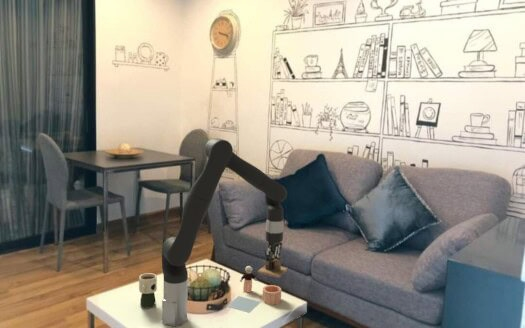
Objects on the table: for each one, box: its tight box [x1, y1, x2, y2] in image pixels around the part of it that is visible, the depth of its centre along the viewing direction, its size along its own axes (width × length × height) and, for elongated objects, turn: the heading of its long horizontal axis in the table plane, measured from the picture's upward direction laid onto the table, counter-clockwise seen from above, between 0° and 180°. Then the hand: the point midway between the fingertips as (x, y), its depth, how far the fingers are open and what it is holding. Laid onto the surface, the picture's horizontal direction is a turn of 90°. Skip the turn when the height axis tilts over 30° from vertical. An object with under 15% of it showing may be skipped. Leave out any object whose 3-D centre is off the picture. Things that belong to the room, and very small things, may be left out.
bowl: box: [261, 284, 282, 306], centre depth 190 cm, size 8×8×6 cm
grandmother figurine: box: [239, 265, 258, 293], centre depth 198 cm, size 8×4×13 cm, turn 112°
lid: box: [256, 257, 289, 279], centre depth 188 cm, size 10×10×6 cm
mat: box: [226, 295, 261, 314], centre depth 186 cm, size 11×11×1 cm
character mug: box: [138, 272, 158, 309], centre depth 182 cm, size 11×7×13 cm, turn 175°
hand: (272, 267), depth 188 cm, fingers closed on lid, 2 cm apart
